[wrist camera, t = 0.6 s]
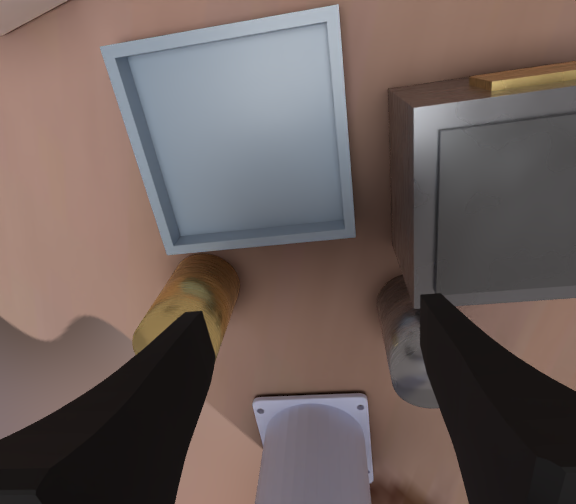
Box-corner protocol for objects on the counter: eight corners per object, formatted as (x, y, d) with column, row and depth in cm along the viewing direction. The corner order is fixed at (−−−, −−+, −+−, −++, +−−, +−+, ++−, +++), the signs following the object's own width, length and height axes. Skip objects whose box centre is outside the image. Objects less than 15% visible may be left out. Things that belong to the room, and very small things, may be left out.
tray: (353, 222, 21) (355, 237, 20) (178, 240, 23) (167, 255, 21) (337, 7, 17) (338, 4, 15) (119, 46, 18) (99, 46, 17)
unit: (589, 232, 20) (688, 303, 15) (392, 250, 22) (415, 321, 16) (631, 45, 17) (785, 47, 11) (387, 81, 18) (415, 99, 12)
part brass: (245, 307, 25) (223, 379, 19) (184, 311, 25) (147, 383, 20) (232, 250, 23) (204, 313, 18) (166, 256, 23) (120, 319, 18)
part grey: (445, 326, 24) (478, 406, 19) (378, 330, 25) (392, 409, 19) (447, 270, 22) (485, 341, 17) (375, 276, 23) (390, 346, 18)
